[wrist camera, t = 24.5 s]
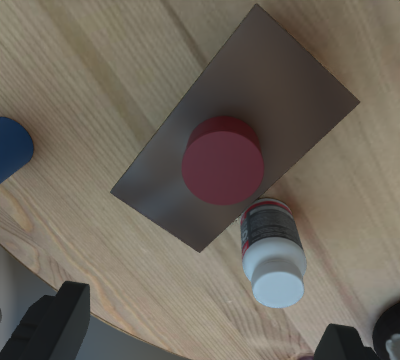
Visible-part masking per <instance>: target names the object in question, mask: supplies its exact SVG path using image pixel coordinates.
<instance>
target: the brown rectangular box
mask: <svg viewBox="0 0 400 360" xmlns="http://www.w3.org/2000/svg"><path fill="white" fill-rule="evenodd" d="M359 103H360V101H359V100H358V99H357V98H356V97H355V96H354V95H353V94H352V93H351V92H349V91H348V90H347V89H346V88H345V87H344V86H343V85H342V84H341V83H340V82H339V81H338V80H337V79H336V78H335V77H334V76H333V75H332V74H331V73H330V72H329V71H327V70H326V69H325V68H324V67H323V66H322V65H321V64H320V63H319V62H318V61H317V60H316V59H315V58H314V57H313V56H312V55H311V54H310V53H309V52H308V51H307V50H305V49H304V48H303V47H302V46H301V45H300V44H299V43H298V42H297V41H296V40H295V39H294V38H293V37H292V36H291V35H290V34H289V33H288V32H287V31H286V30H285V29H283V28H282V27H281V26H280V25H279V24H278V23H277V22H276V21H275V20H274V19H273V18H272V17H271V16H270V15H269V14H268V13H267V12H266V11H265V10H264V9H263V8H261V7H260V6H259V5H258V4H255V5H254V6H253V8H252V9H251V10H250V12H249V13H248V14H247V16H246V17H245V18H244V19H243V21H242V22H241V23H240V25H239V26H238V27H237V28H236V30H235V31H234V32H233V34H232V35H231V36H230V37H229V39H228V40H227V41H226V43H225V44H224V45H223V46H222V48H221V49H220V50H219V52H218V53H217V54H216V55H215V57H214V58H213V59H212V61H211V62H210V63H209V65H208V66H207V67H206V68H205V70H204V71H203V72H202V74H201V75H200V76H199V77H198V79H197V80H196V81H195V83H194V84H193V85H192V86H191V88H190V89H189V90H188V92H187V93H186V94H185V95H184V97H183V98H182V99H181V101H180V102H179V103H178V105H177V106H176V107H175V108H174V110H173V111H172V112H171V114H170V115H169V116H168V117H167V119H166V120H165V121H164V123H163V124H162V125H161V126H160V128H159V129H158V130H157V132H156V133H155V134H154V135H153V137H152V138H151V139H150V141H149V142H148V143H147V145H146V146H145V147H144V148H143V150H142V151H141V152H140V154H139V155H138V156H137V157H136V159H135V160H134V161H133V163H132V164H131V165H130V166H129V168H128V169H127V170H126V172H125V173H124V174H123V175H122V177H121V178H120V179H119V181H118V182H117V183H116V184H115V186H114V187H113V188H112V190H111V191H110V193H111V194H113V195H114V196H116V197H117V198H119V199H120V200H122V201H123V202H125V203H126V204H128V205H129V206H130V207H132V208H133V209H135V210H136V211H138V212H139V213H141V214H142V215H144V216H145V217H147V218H148V219H150V220H151V221H153V222H154V223H156V224H157V225H159V226H160V227H162V228H163V229H165V230H166V231H168V232H169V233H171V234H172V235H174V236H175V237H177V238H178V239H180V240H181V241H183V242H184V243H186V244H187V245H188V246H190V247H191V248H193V249H194V250H196V251H197V252H199V253H200V252H201V251H202V250H203V249H204V248H206V247H207V246H208V245H209V244H210V243H211V242H212V241H213V240H214V239H215V238H216V237H217V236H218V235H219V234H220V233H222V232H223V231H224V230H225V229H226V228H227V227H228V226H229V225H230V224H231V223H232V222H233V221H234V220H235V219H236V218H238V217H239V216H240V215H241V214H242V213H243V212H244V211H245V210H246V209H247V208H248V207H249V206H250V205H251V204H252V203H254V202H255V201H256V200H257V199H258V198H259V197H260V196H261V195H262V194H263V193H264V192H265V191H266V190H267V189H268V188H270V187H271V186H272V185H273V184H274V183H275V182H276V181H277V180H278V179H279V178H280V177H281V176H282V175H283V174H284V173H286V172H287V171H288V170H289V169H290V168H291V167H292V166H293V165H294V164H295V163H296V162H297V161H298V160H299V159H300V158H302V157H303V156H304V155H305V154H306V153H307V152H308V151H309V150H310V149H311V148H312V147H313V146H314V145H315V144H316V143H318V142H319V141H320V140H321V139H322V138H323V137H324V136H325V135H326V134H327V133H328V132H329V131H330V130H331V129H332V128H334V127H335V126H336V125H337V124H338V123H339V122H340V121H341V120H342V119H343V118H344V117H345V116H346V115H347V114H348V113H350V112H351V111H352V110H353V109H354V108H355V107H356V106H357V105H358V104H359ZM218 116H229V117H234V118H237V119H239V120H241V121H243V122H245V123H246V124H248V125H249V126H250V127H251V128H252V129H253V131H254V132H255V134H256V135H257V137H258V140H259V143H260V148H261V152H262V156H263V161H264V176H263V179H262V182H261V184H260V186H259V187H258V189H257V190H256V191H255V192H254V193H253V194H252V195H251V196H250V197H248V198H247V199H245V200H243V201H242V202H239V203H236V204H232V205H214V204H210V203H207V202H205V201H202V200H201V199H199V198H198V197H196V196H195V195H194V194H193V193H192V192H191V191H190V190H189V189H188V187H187V186H186V184H185V182H184V180H183V176H182V170H181V165H182V159H183V156H184V153H185V149H186V146H187V143H188V139H189V137H190V135H191V133H192V132H193V130H194V129H195V128H196V127H197V126H198V125H199V124H201V123H202V122H204V121H206V120H208V119H210V118H213V117H218Z"/></svg>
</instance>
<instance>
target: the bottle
mask: <svg viewBox="0 0 400 360" xmlns="http://www.w3.org/2000/svg"><path fill="white" fill-rule="evenodd" d="M33 150H34V149H33V142H32V139H31V137H30V135H29V134H28V132H27V131H26V130H25V129H24V128H23V127H22V126H21V125H20V124H19V123H17V122H15V121H14V120H12V119H9V118H5V117H0V184H1V183H2V182H3V181H5V180H6V179H7V178H8V177H10V176H11V175H12V174H14V173H15V172H16V171H17V170H19V169H20V168H21V167H23V166H24V165H25V164H26V163H28V162H29V161H30V159H31V158H32V155H33Z"/></svg>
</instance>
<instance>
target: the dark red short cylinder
mask: <svg viewBox="0 0 400 360" xmlns="http://www.w3.org/2000/svg"><path fill="white" fill-rule="evenodd" d="M181 170H182V176H183V180H184V182H185V184H186V186H187V187H188V189H189V190H190V191H191V192H192V193H193V194H194V195H195V196H196V197H198V198H199V199H201V200H202V201H205V202H207V203H210V204H214V205H232V204H236V203H239V202H242V201H243V200H245V199H247V198H248V197H250V196H251V195H252V194H253V193H254V192H255V191H256V190H257V189H258V187H259V186H260V184H261V182H262V179H263V176H264V161H263V156H262V152H261V148H260V143H259V140H258V137H257V135H256V134H255V132H254V131H253V129H252V128H251V127H250V126H249V125H248V124H246V123H245V122H243V121H241V120H239V119H237V118H234V117H229V116H218V117H213V118H210V119H208V120H206V121H204V122H202V123H201V124H199V125H198V126H197V127H196V128H195V129H194V130H193V132H192V133H191V135H190V137H189V139H188V143H187V146H186V149H185V153H184V156H183V159H182V165H181Z"/></svg>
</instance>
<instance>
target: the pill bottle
mask: <svg viewBox="0 0 400 360" xmlns="http://www.w3.org/2000/svg"><path fill="white" fill-rule="evenodd" d="M240 223H241V225H240V226H241V242H242V263H243V269H244V272H245V275H246V276H247V278H248V279H249V280H250V281H251V284H252V290H253V294H254V297H255V298H256V300H257V301H258V302H260V303H261V304H263V305H265V306H268V307H272V308H284V307H288V306H291V305H293V304H295V303H296V302H298V301H299V300H300V299H301V297H302V296H303V294H304V283H303V275H304V274H305V271H306V267H307V262H306V257H305V253H304V250H303V247H302V244H301V241H300V237H299V234H298V231H297V228H296V224H295V221H294V218H293V215H292V212H291V210H290V209H289V207H288V206H287V205H285V204H284V203H282V202H281V201H279V200H276V199H268V198H265V199H260V200H256V201H255V202H254V203H252V204H251V205H250V206H249V207H248V208H247V209H246V210H245V211H244V212H243V213H242V215H241V222H240Z"/></svg>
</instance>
